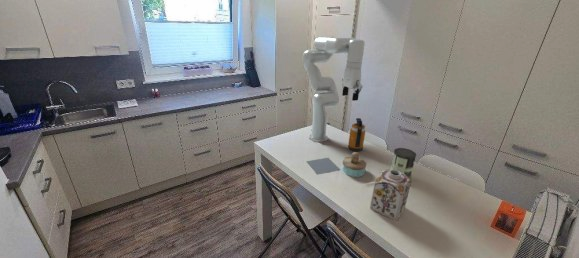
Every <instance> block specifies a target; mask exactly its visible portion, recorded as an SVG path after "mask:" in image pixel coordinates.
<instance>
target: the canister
mask: <svg viewBox="0 0 579 258" xmlns="http://www.w3.org/2000/svg"><path fill="white" fill-rule="evenodd" d="M355 120H356V122H355V123H352V125H351V128H350V129H349V137H348V145H347V147H348V149H349V150H351V151H353V152H360V151H362V150H363V149H364V142H365V136H366V125H365V124H364V123H363V121H362V119H361V118H359V117H358V118H356V119H355Z"/></svg>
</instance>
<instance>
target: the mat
mask: <svg viewBox="0 0 579 258" xmlns="http://www.w3.org/2000/svg"><path fill="white" fill-rule="evenodd" d="M306 163H307V164H308V165H309V167H310V168H311V169H312V170H313V171H314V173H315V174H316V175H323V174H328V173H332V172H337V171H338V172H339V171H341V168H339V166H337V164H336V163H334V162H333V161H332V160H331V159H330V157H324V158H318V159H312V160H306Z"/></svg>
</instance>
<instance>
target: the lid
mask: <svg viewBox="0 0 579 258" xmlns="http://www.w3.org/2000/svg"><path fill="white" fill-rule="evenodd" d="M342 164H343V165H344V166H346V167H347V168H349V169H353V170H362V169H364V168H365V169H366V168H367V161H366V160H364V159H363V158H361V157H360V153H359V152H358V151H353V152H352V153H351V156H346V157H344V158H343V159H342ZM343 165H342V166H343Z"/></svg>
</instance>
